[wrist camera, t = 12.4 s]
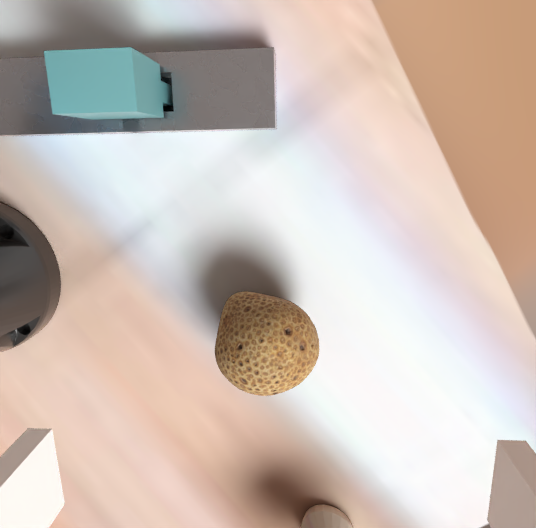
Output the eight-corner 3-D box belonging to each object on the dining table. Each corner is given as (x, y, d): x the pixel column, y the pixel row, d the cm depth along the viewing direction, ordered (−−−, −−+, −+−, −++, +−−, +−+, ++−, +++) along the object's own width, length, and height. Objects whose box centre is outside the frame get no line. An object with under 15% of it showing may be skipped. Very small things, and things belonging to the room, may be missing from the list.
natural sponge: (299, 375, 44) (298, 438, 34) (214, 349, 44) (190, 405, 34) (328, 293, 41) (336, 337, 32) (238, 266, 41) (219, 301, 32)
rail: (13, 136, 40) (-5, 135, 37) (1, 64, 38) (-19, 59, 36) (276, 129, 38) (275, 127, 36) (275, 54, 36) (273, 47, 34)
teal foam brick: (107, 121, 39) (52, 114, 30) (102, 73, 38) (43, 51, 29) (174, 120, 38) (137, 111, 30) (170, 70, 37) (131, 47, 29)
